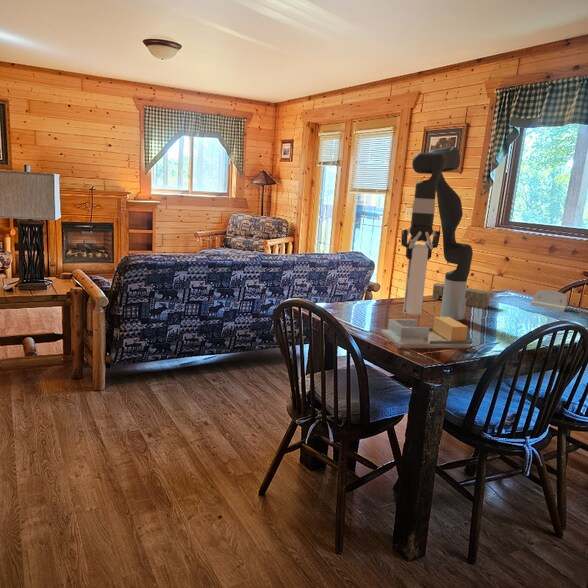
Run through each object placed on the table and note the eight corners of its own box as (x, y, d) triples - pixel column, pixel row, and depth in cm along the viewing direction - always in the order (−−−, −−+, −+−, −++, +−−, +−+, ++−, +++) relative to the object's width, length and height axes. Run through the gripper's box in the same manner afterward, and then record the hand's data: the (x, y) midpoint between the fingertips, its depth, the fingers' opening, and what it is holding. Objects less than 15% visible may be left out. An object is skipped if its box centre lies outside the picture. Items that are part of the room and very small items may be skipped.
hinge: (529, 304, 262) (535, 286, 262) (532, 306, 265) (537, 288, 266) (564, 311, 251) (569, 292, 251) (566, 313, 254) (571, 294, 255)
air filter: (421, 315, 179) (429, 245, 173) (403, 313, 180) (410, 244, 175) (420, 311, 185) (428, 244, 180) (403, 309, 186) (410, 242, 181)
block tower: (430, 300, 263) (486, 309, 246) (431, 284, 262) (488, 292, 244) (436, 298, 269) (491, 306, 252) (437, 282, 268) (493, 290, 250)
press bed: (448, 333, 197) (450, 317, 196) (472, 347, 180) (474, 330, 178) (380, 333, 191) (382, 316, 190) (399, 348, 174) (401, 330, 173)
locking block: (447, 330, 194) (448, 316, 193) (465, 341, 181) (467, 326, 180) (432, 330, 193) (434, 316, 192) (450, 341, 180) (452, 326, 179)
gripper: (437, 212, 180) (431, 258, 183) (399, 210, 177) (394, 257, 180) (447, 213, 172) (441, 261, 176) (408, 211, 170) (403, 260, 173)
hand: (418, 259), depth 178 cm, fingers closed on air filter, 6 cm apart
